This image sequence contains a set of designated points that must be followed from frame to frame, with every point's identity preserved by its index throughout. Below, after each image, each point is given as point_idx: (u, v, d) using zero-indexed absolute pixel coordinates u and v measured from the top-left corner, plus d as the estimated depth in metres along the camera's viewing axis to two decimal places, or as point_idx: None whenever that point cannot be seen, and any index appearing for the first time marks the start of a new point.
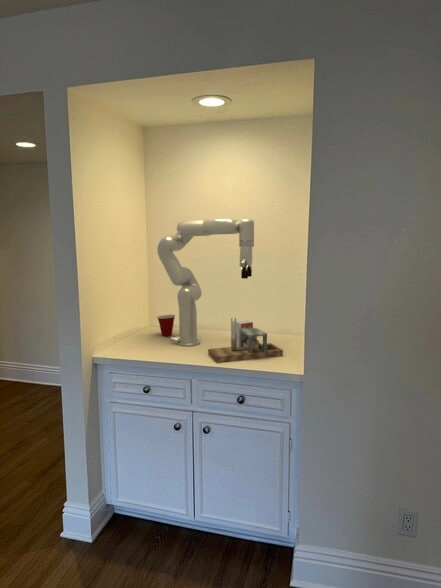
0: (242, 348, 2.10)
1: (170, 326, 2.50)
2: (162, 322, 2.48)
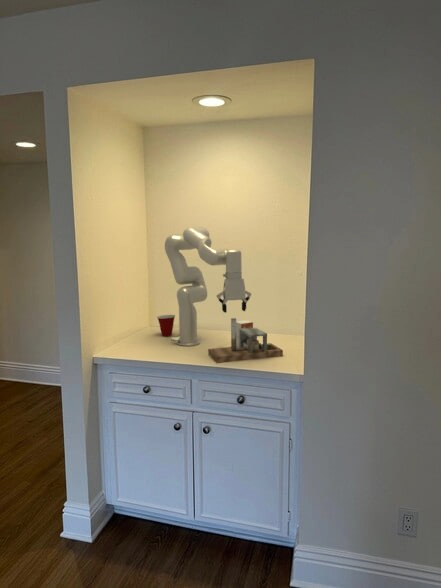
0: (242, 348, 2.10)
1: (170, 326, 2.50)
2: (162, 322, 2.48)
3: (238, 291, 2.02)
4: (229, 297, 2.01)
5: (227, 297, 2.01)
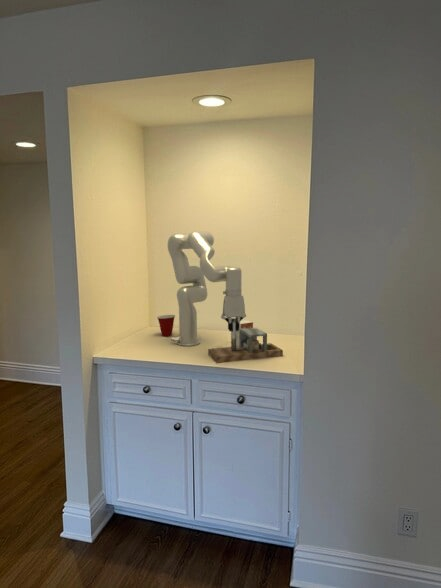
0: (242, 348, 2.10)
1: (170, 326, 2.50)
2: (162, 322, 2.48)
3: (238, 308, 2.04)
4: (229, 314, 2.03)
5: (227, 314, 2.03)
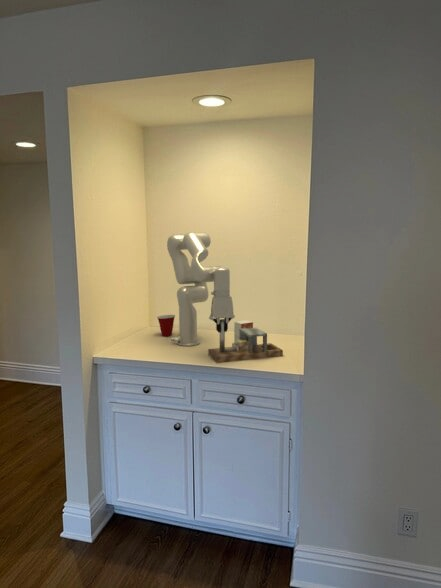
0: (231, 349, 2.08)
1: (170, 326, 2.50)
2: (162, 322, 2.48)
3: (226, 309, 2.02)
4: (217, 315, 2.01)
5: (215, 315, 2.01)
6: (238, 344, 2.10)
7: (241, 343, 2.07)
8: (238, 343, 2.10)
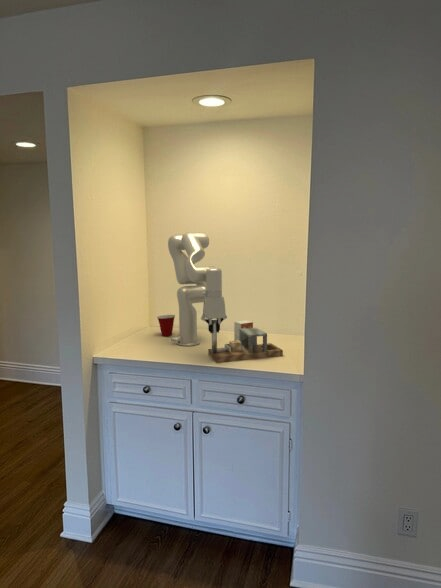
0: (223, 350, 2.07)
1: (170, 326, 2.50)
2: (162, 322, 2.48)
3: (218, 310, 2.01)
4: (209, 316, 2.00)
5: (207, 316, 2.00)
6: (230, 345, 2.08)
7: (233, 344, 2.06)
8: (230, 344, 2.08)
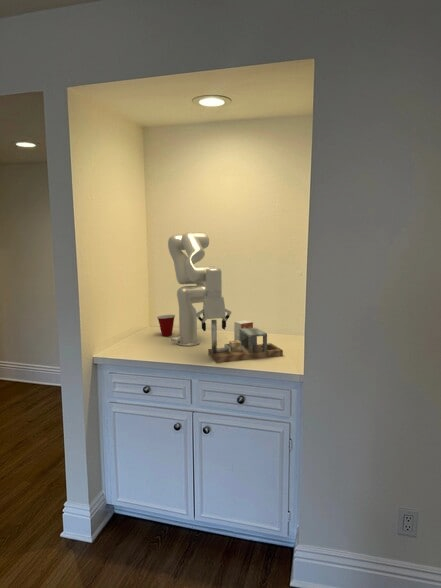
0: (223, 350, 2.06)
1: (170, 326, 2.50)
2: (162, 322, 2.48)
3: (218, 310, 2.01)
4: (208, 316, 2.00)
5: (206, 316, 2.00)
6: (230, 345, 2.08)
7: (233, 344, 2.06)
8: (230, 344, 2.08)
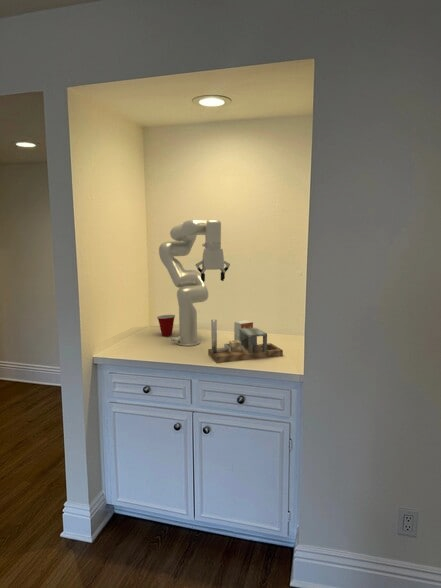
0: (223, 350, 2.06)
1: (170, 326, 2.50)
2: (162, 322, 2.48)
3: (217, 261, 2.07)
4: (207, 266, 2.06)
5: (205, 266, 2.06)
6: (230, 345, 2.08)
7: (233, 344, 2.06)
8: (230, 344, 2.08)
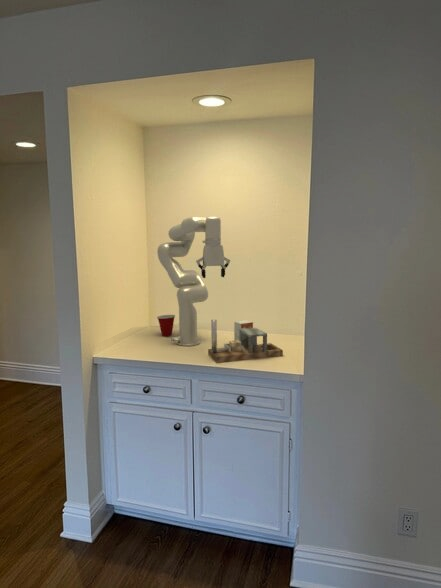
0: (223, 350, 2.06)
1: (170, 326, 2.50)
2: (162, 322, 2.48)
3: (217, 257, 2.08)
4: (208, 263, 2.07)
5: (206, 263, 2.06)
6: (230, 345, 2.08)
7: (233, 344, 2.06)
8: (230, 344, 2.08)
